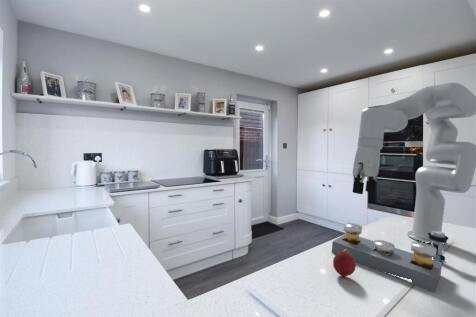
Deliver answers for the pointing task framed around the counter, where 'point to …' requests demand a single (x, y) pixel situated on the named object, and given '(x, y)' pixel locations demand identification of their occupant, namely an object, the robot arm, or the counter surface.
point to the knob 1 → (352, 232)
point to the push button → (438, 244)
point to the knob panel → (391, 262)
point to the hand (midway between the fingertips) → (364, 192)
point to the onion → (344, 263)
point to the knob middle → (383, 247)
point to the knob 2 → (423, 254)
